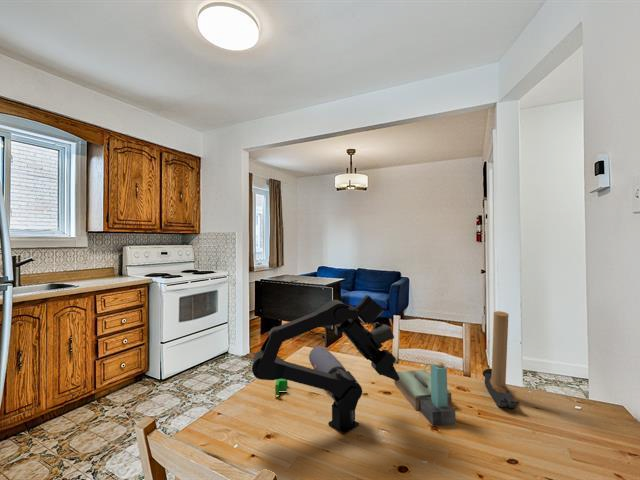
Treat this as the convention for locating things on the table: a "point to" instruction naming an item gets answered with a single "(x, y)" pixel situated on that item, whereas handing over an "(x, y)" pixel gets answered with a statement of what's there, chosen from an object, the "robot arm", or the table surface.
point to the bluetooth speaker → (324, 360)
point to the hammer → (499, 363)
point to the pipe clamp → (280, 386)
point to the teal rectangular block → (439, 384)
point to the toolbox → (425, 397)
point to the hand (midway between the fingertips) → (391, 373)
